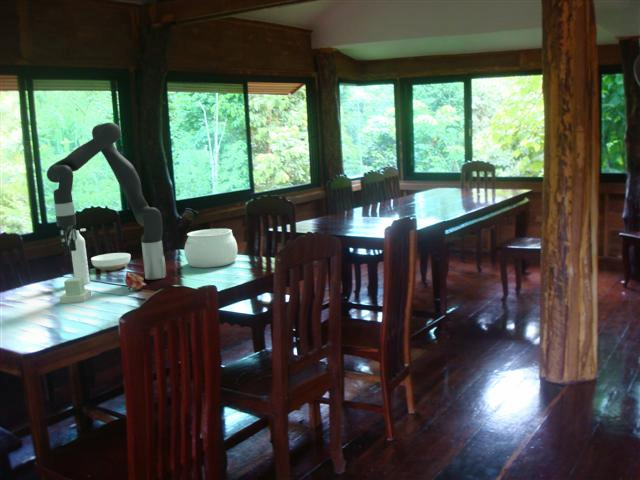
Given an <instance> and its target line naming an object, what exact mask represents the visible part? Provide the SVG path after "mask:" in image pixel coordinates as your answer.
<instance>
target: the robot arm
mask: <svg viewBox="0 0 640 480" xmlns="http://www.w3.org/2000/svg"><path fill="white" fill-rule="evenodd" d="M91 134H92V135H91V136H92V139H90V140H89V141H87V142H85V143H84V144H82V145H80V146H78V147H77V148H76V149H74V150H72V151H71V152H70V153H69V154H68V155H67V156H66V157H64V158H62V159H60V160H59V161H57V162H56V161H55V163H53V164H51V165H50V166H49V167H48V169H47V171H46V178H47V179H48V181H49V182H51V183H57V184H58V188H56V189H54V191H53V201H54V214H55V220H56V226H57V227H58V228H59V227H61V229H60V230H58V234H59V243H60V245H61V246H62V247H63V255H66V256H67V255H70V254H71V251H76V243H75V241H76V239H77V235H76V224H77V217H76V212H75V206H74V201H73V195H72V192H73V184H74V173H73V172H76V171H79V170H80V169H81V168H82V167H84V165H86V164H87V163H89V161H90V160H91V159H93V158H94V157H95V156H96V155H98V154H99V153H100V152H101V153H102V155H103V157H104V159H105V160H106V162H107V164H108V165H109V167H110V169H111V171H112V172H113V174H114V177H115V179H116V181H117V182H118V185H119V186H120V188H121V190H122V192H123V194H124V195H125V198H126V199H127V201H128V202H129V205H130V207H131V210H132V212H133V215H134V217H135V220H136V222H137V223H138V225H140V226H142V227H143V235H141V241H140V242H141V249H142V259H143V269H144V277H145V280H148V281H149V280H150V281H151V280H152V281H153V280H160V279H165V277H167V269H166V267H167V266H166V261H165V260H166V259H165V255H164V247H163V238H162V237H163V233H164V232H163V228H164V227H163V218H162V213H161V211H160V210H159V209H158V208H157V207H150V206H149V204H148V203H147V201H146V199H145V197H144V195H143V191H142V183H141V178H140V176H139V174H138V172H137V170H136V168H135V167H134V165H133V164H132V163H131V162H130V161H129V160H128V159H127V158H125V157H124V156H123V155H122V154H121V153H120V152H119V151H118V149H117V148H116V146H115V144H116V143H117V142H118V141H119V140H120V138H121V135H122V133H121V128H120V127H119V125H118V124H117V123H114V122H105V123H101V124H98V125H95V126H94V127H93V128H92V130H91Z"/></svg>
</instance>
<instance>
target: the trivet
mask: <svg viewBox="0 0 640 480" xmlns="http://www.w3.org/2000/svg"><path fill="white" fill-rule="evenodd" d="M92 295H93V294H92V290H91V289H85V292H83V293H82V294H81V295H71V296H66V292H65V293H63V294H62V295H61V296H59V304H67V303H69V304H70V303H71V304H72V303H84V302H86V301H88V299H90V298H91V297H92Z"/></svg>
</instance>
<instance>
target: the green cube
mask: <svg viewBox="0 0 640 480" xmlns="http://www.w3.org/2000/svg"><path fill="white" fill-rule="evenodd" d="M63 284H64V291H65V293H66V296H71V295H81V294H82V293H83V292H85V290H86V289H85V284H84V281H83V278H73V277H72V278H71V277H70V278H67V279H66V280H65V281H63Z"/></svg>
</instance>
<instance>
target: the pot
mask: <svg viewBox="0 0 640 480" xmlns="http://www.w3.org/2000/svg"><path fill="white" fill-rule="evenodd" d="M186 236H188V237H187V239H186V241H185V245H184V257H185V261H186V262H187V264H188V265H190V267H193V268H198V269H199V268H200V269H202V268H203V269H204V268H205V269H207V268H209V269H211V268H218V267H224V266H228V265H230V264H233V263H234V262H235V261H236V259H237V256H238V252H239V251H238V244H237V241H236V238H235V236H234V235H233V230H232V229H230V228H209V229H208V228H207V229H200V230H195V231H194V230H193V231H190V232H188V233H187V234H186Z"/></svg>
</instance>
